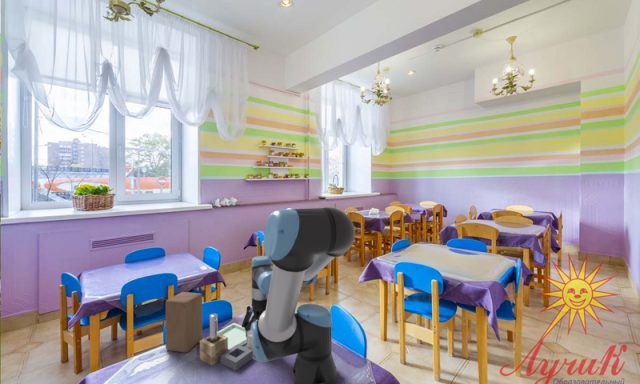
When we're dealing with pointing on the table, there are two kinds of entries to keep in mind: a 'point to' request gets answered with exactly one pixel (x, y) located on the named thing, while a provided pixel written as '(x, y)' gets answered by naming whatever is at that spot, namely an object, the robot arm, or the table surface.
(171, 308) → the wooden block
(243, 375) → the table surface
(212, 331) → the steel pin
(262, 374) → the table surface
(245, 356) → the pin stand
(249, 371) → the table surface
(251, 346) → the white cube
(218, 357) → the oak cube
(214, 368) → the table surface
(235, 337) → the mint tray
